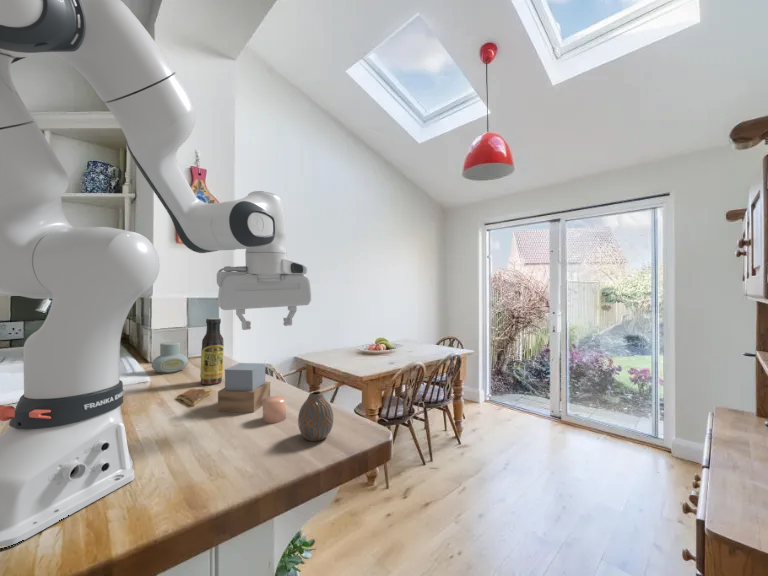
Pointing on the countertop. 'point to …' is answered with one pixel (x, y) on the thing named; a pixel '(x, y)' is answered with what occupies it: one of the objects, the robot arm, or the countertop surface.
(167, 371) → the air freshener
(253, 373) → the top block
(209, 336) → the sauce bottle
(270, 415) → the peach pillar candle
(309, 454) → the countertop surface
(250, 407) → the base block
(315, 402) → the vase
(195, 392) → the toasted sandwich
